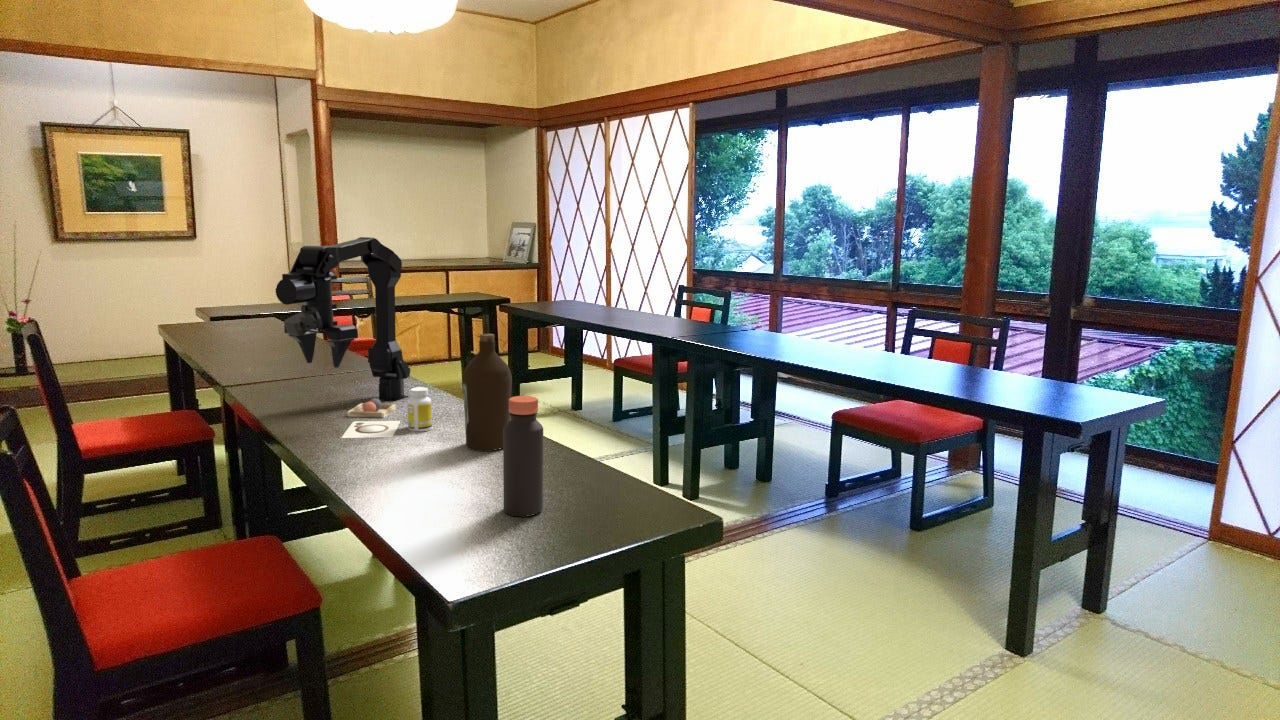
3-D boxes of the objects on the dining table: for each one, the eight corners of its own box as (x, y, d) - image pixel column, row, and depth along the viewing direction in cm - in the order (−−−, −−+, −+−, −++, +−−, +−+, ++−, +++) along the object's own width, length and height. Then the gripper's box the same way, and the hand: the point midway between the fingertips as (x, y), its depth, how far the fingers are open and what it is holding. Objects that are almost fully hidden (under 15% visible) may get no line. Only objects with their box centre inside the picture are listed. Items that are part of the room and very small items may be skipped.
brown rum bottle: (514, 439, 173) (514, 331, 168) (508, 453, 163) (508, 338, 158) (468, 438, 173) (466, 330, 168) (459, 452, 162) (457, 337, 158)
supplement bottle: (435, 426, 181) (434, 387, 179) (426, 433, 176) (426, 392, 174) (413, 425, 181) (412, 386, 180) (404, 431, 176) (403, 390, 174)
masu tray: (361, 409, 195) (361, 403, 195) (396, 410, 195) (395, 404, 195) (347, 418, 186) (347, 411, 186) (384, 419, 186) (383, 412, 186)
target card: (353, 423, 182) (353, 421, 182) (400, 422, 184) (400, 420, 184) (341, 439, 168) (341, 437, 168) (392, 438, 170) (392, 436, 170)
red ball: (368, 412, 191) (368, 399, 190) (379, 413, 190) (378, 401, 189) (360, 414, 188) (359, 402, 187) (370, 416, 187) (370, 403, 186)
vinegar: (508, 520, 127) (508, 405, 123) (499, 506, 133) (498, 395, 129) (547, 515, 129) (548, 402, 126) (536, 501, 135) (537, 393, 132)
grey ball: (374, 408, 194) (373, 396, 194) (384, 410, 193) (383, 397, 193) (365, 411, 191) (365, 399, 191) (375, 412, 190) (375, 400, 190)
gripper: (261, 300, 173) (266, 366, 177) (318, 306, 165) (322, 376, 168) (303, 295, 183) (306, 358, 186) (358, 301, 175) (361, 367, 178)
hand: (322, 365), depth 179 cm, fingers open, 9 cm apart
